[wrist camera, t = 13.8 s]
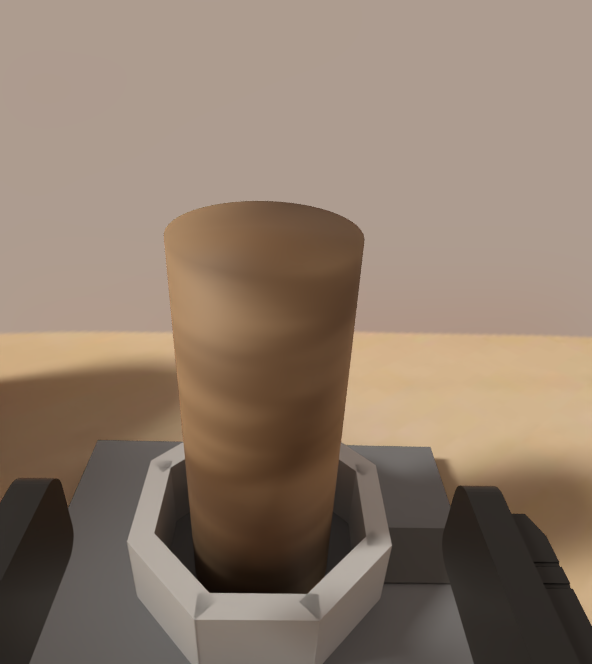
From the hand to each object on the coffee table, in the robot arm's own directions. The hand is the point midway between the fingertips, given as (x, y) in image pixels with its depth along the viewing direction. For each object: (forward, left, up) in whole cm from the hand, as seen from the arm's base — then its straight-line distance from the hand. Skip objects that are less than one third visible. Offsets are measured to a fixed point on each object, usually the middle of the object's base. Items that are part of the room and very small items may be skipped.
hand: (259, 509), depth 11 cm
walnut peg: (0, +5, -9) cm, 10 cm away
